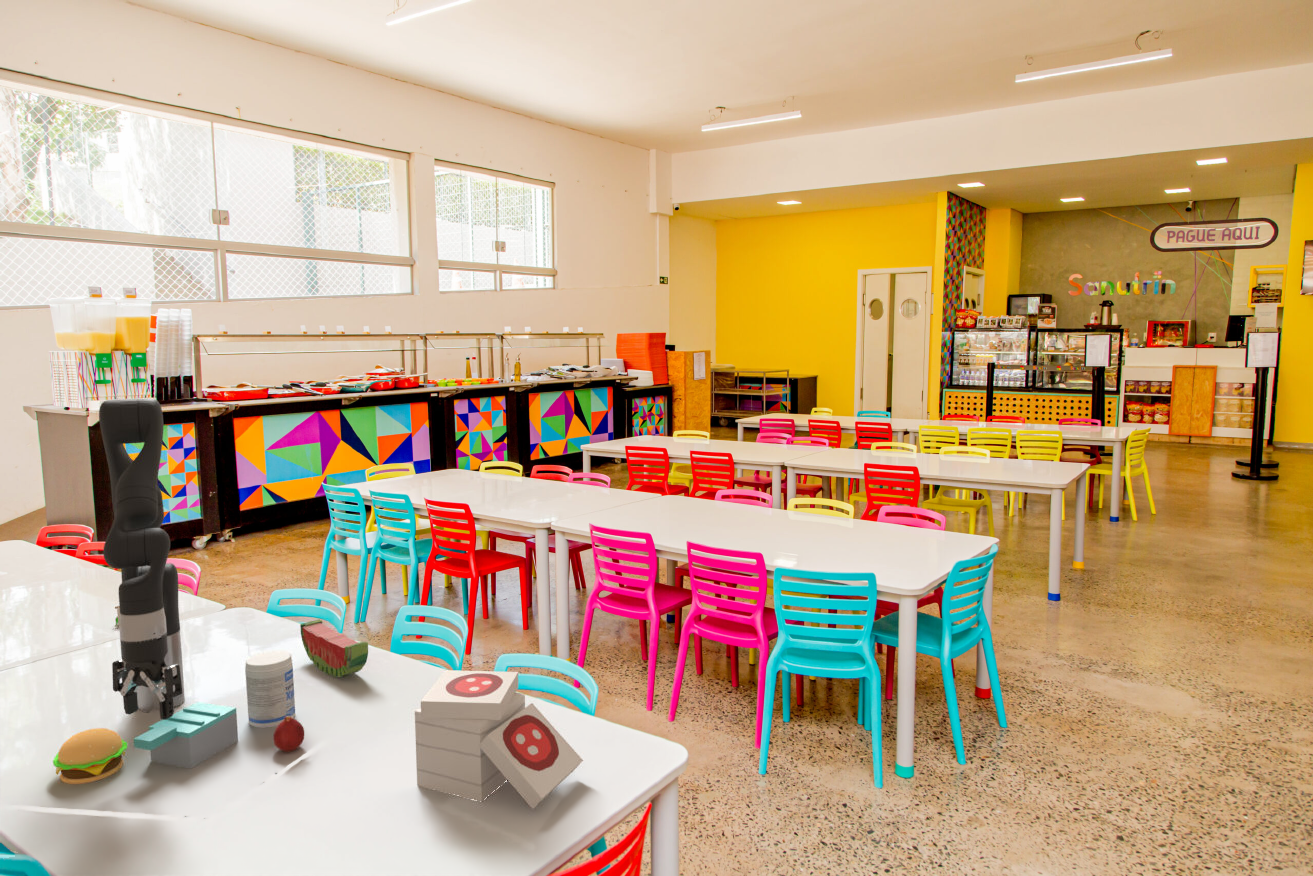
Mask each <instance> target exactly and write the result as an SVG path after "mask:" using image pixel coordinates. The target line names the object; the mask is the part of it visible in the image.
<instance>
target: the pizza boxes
mask: <svg viewBox="0 0 1313 876" xmlns="http://www.w3.org/2000/svg"><path fill="white" fill-rule="evenodd" d="M518 689H519V672H518V671H496V670H495V671H492V670H491V671H489V670H458V669H457V670H456V669H455V670H451V669H446V670H444V672H442V674H441V675H440V677H439V678H438V679H437V680H436V682H435V683H434V684H433V685H432V686H431V688H430V689H429V690H428V692H427V693H426V694H425V696H423V698H422V699H421V700H420V707H419V708H417V709H416V710H414V727H415V728H414V730H415V731H414V732H415V734H414V735H415V755H416V760H415V761H416V763H415V764H416V785H419V786H418V787H421V786H422V787H421V788H426V789H429V788H430V789H429V790H432V789H435V790H434V791H436V790H438V791H437V792H440V791H442V792H441V793H443V792H446V793H445V794H447V793H450V794H449V795H451V794H455V795H459V796H461V797H460V798H462V797H465V798H464V799H466V798H469V799H474V800H477V801H481V802H482V801H483V800H484V799H485V798H486V797H488V795H490V794H491V793H492V792H493V791H494V790H496V789H497V788H498V787H499V786H501V785H502V784H503V783H504V782H505V781H506V780H508V781H507V782H509V784H511V786H512V787H514V789H515V790H516V791H517V793H518V794H519V795H520V796H521V797H522V798H523V799H524V800H525V802H526V803H527V805H529V807H530V808H531V809H535V807H537V806H538V805H539V804H540V803H542V801H543V800H544V799H545V798H546V797H547V796H549V795H550V794H551V793H552V792H553V791H554V790H555V789H556V788H558V786H559V785H560V784H561V783H562V782H563V781H565V779H566V778H567V777H569V776H570V775H571V774H572V773H573V772H574V771H575V770H576V769H578V767H579V766H580V764H582V762H583V761H584V760H583V759H582V757H581V756H580V755H579V754H578V753H577V752H576V751H575V749H574V748H573V746H571V745H570V744H569V742H567V741H566V739H565V738H564V737H563V736H562V735H561V734H560V732H559V731H558V730H557V729H556V728H555V727H554V726H553V725H552V724H551V722H550V721H549V720H548V719H547V718H546V716H544V714H543V713H542V712H540V710H539V709H538V708H537V707H536V706H535V704H534V703H533V702H532V703H530V704H529V705H527V706H526V697H525V696H526V695H525V693H518V692H517V690H518ZM503 785H504V784H503ZM503 785H502V786H503ZM502 786H501V787H502ZM497 790H498V789H497ZM497 790H496V791H497ZM455 795H454V796H455ZM491 795H492V794H491ZM491 795H490V796H491ZM488 798H489V797H488ZM469 799H468V800H469ZM477 801H476V802H477ZM484 801H485V800H484ZM484 801H483V802H484ZM483 802H482V803H483Z"/></svg>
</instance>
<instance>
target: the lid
mask: <svg viewBox="0 0 1313 876" xmlns="http://www.w3.org/2000/svg"><path fill="white" fill-rule="evenodd" d="M234 713H237V707H234V706H228V705H220V704H213V703H207V702H199V701H197V702H195V703H193V704H191V705H189V706H187V707H186V706H185V707H184V708H182V709H181V710H179V711H177V712H174V713H173V715H172V717H170V718H168V719H166V720H162V719H161V720H159V721H157V722H155V723H154V724H152V725H150V726H148V731H145V732H144V733H142V734H140V735H138V736H136V737H135V738H133V746H134V747H133V748H135V749H140V750H141V749H142V750H147V751H150V750H153V749H154V748H156V747H158V746H160V745H162V744H164V743H166V742H167V741H169V740H171V739H173V738H175V737H177V736H179V737H185V738H191V737H193V736H194V735H196V734H198V733H200V732H202V731H203V730H205V729H207V728H209V727H211V726H213V725H214V724H216V723H218V722H220V721H222V720H223V719H225V718H227V717H229V716H231V715H232V714H234Z"/></svg>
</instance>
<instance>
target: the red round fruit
mask: <svg viewBox="0 0 1313 876" xmlns="http://www.w3.org/2000/svg"><path fill="white" fill-rule="evenodd" d="M284 719H285V720H284V721H282V722H281V723H280V724H279V725H278V726H276V728H275V730H274V732H273V743H274V745H275V746H276V748H277V749H279V750H281V751H283V752H285V753H289V752H290V753H291V752H294V751H295V750H297V749H298V748H300V747H301V744H303V741H304V739H305V727H303V724H302V723H301V722H299V721H298V720H297V719H296V718H291V717H290V716H286V717H285V718H284Z"/></svg>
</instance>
